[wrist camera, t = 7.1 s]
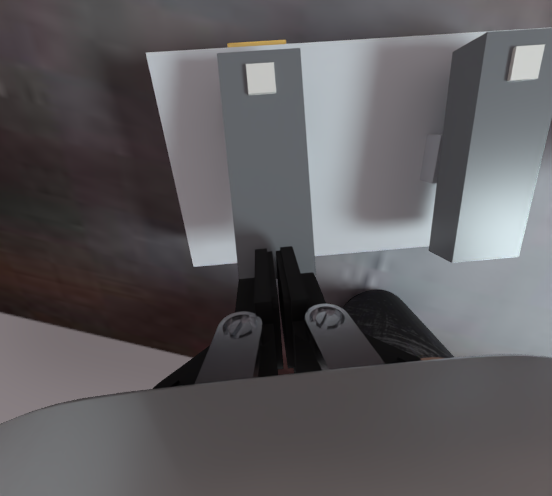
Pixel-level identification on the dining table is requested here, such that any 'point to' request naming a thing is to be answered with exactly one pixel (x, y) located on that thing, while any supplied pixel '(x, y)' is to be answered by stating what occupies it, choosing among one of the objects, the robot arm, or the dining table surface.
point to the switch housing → (321, 140)
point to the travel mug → (394, 324)
